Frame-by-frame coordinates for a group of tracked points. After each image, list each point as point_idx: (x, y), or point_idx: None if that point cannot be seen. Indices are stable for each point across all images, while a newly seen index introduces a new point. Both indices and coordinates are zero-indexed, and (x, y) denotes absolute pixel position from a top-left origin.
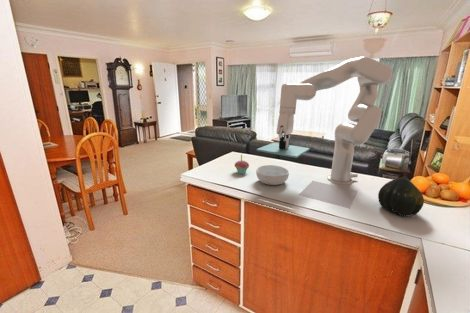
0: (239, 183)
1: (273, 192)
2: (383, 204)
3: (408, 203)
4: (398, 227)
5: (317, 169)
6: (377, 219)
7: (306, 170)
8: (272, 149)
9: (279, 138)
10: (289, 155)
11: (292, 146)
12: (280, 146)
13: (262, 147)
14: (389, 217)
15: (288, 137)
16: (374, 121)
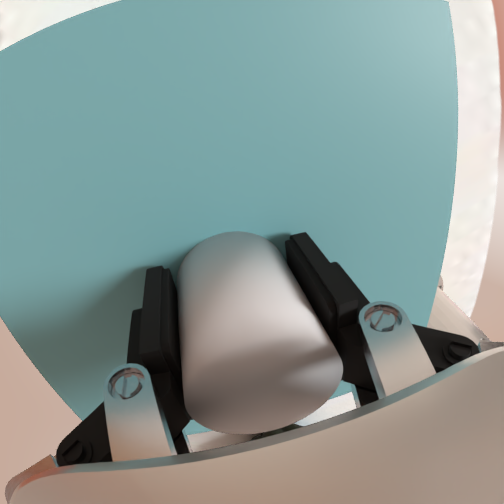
0: (48, 12)
1: None
2: (262, 437)
3: None
4: (202, 450)
5: (480, 192)
6: (202, 434)
7: (456, 160)
8: (51, 227)
9: (106, 405)
10: (79, 413)
11: (406, 268)
12: (135, 317)
13: (18, 60)
14: (231, 438)
15: (356, 399)
16: None
